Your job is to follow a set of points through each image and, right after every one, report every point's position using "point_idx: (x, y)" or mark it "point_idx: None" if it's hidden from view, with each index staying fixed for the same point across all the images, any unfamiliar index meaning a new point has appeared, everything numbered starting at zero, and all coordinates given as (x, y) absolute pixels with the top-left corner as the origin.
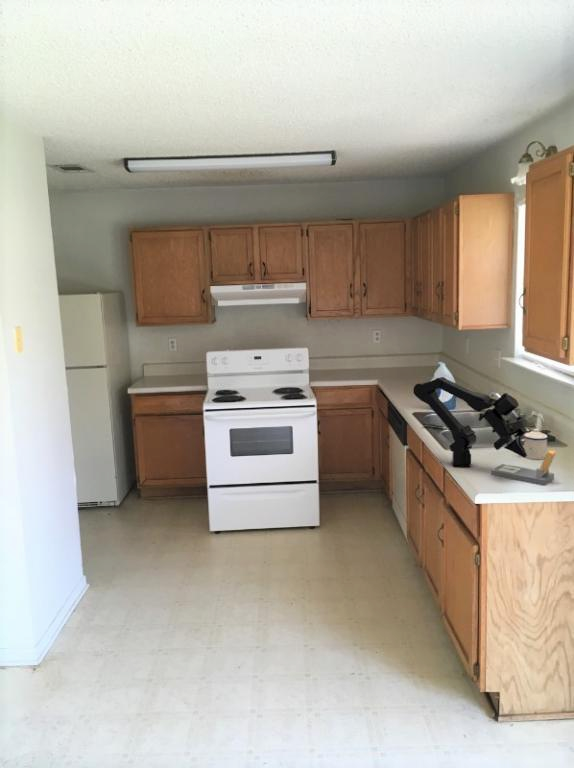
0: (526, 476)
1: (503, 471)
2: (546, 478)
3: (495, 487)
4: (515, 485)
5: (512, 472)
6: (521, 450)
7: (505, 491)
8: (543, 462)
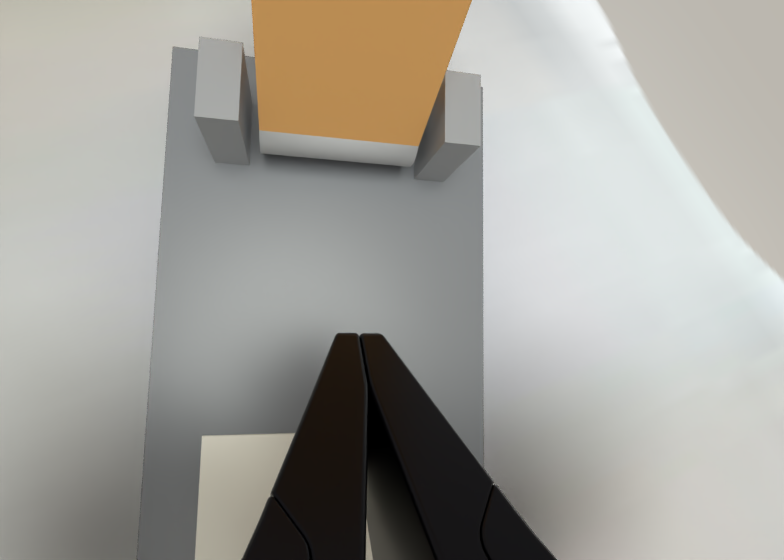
0: (472, 274)
1: None
2: None
3: (740, 442)
4: (599, 325)
5: None
6: (456, 449)
7: (771, 335)
8: (461, 15)
